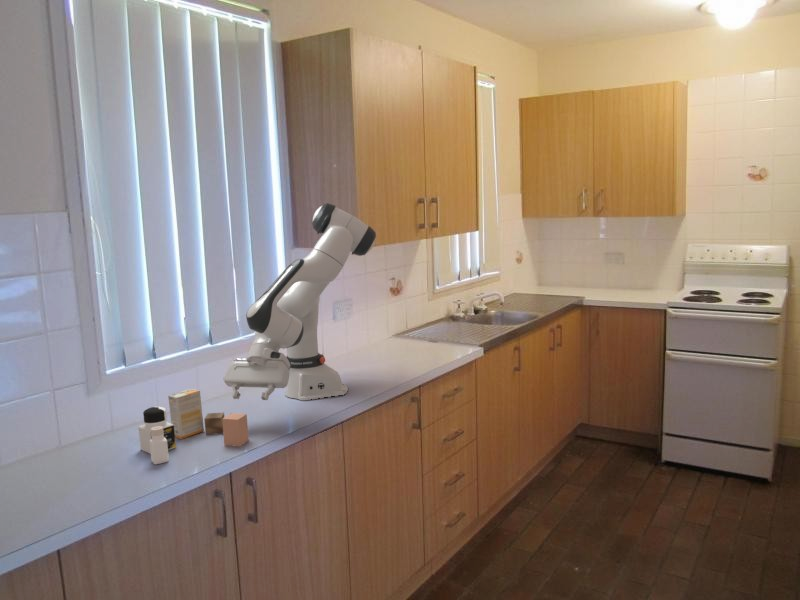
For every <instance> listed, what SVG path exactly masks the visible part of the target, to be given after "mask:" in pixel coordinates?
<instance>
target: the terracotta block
mask: <svg viewBox="0 0 800 600" xmlns="http://www.w3.org/2000/svg"><path fill="white" fill-rule="evenodd" d="M247 416H248V415H247V413H233V412H232V413H230V414H227V415H226V416H224V418H223V419H222V422H223V433H222V434H223V444H224V446H225V445H235V446H234V447H238V446H240V447H242V446H243V445H244V444H246V443H247V442H248V441H249V429H248V427H249V426H248V417H247ZM247 440H248V441H247ZM246 441H247V442H246ZM245 442H246V443H245ZM243 443H244V444H243ZM242 444H243V445H242ZM241 445H242V446H241Z"/></svg>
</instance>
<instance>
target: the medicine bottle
mask: <svg viewBox="0 0 800 600" xmlns="http://www.w3.org/2000/svg"><path fill="white" fill-rule="evenodd" d="M142 414H143V424H142V425H139V426H138V436H139V444H140V445H139V446H140V450H141V451H144V452H145V453H148V454H149V455H151V453H150V443H149V441H150V440H151V439H152V436H151V428H153V427H156V426H162V427H163V432H164V437H165V438H166V440H167V446H168V451H169V450H172V449H175V448H176V446H177V445H176V437H175V433H174V424H171V422H168V417H167V409H166V408H165V407H162V406H151V407H148V408H147V409H145V410H143V413H142Z"/></svg>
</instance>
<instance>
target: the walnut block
mask: <svg viewBox="0 0 800 600" xmlns="http://www.w3.org/2000/svg"><path fill="white" fill-rule="evenodd" d="M224 417H225V412H223V411H222V412H212V413H210V412H209V413H207V414H206V415H205V417H204V419H203V421H204V429H205V430H204V431H205V435H214V433H218V434H223V422H222V419H223V418H224Z"/></svg>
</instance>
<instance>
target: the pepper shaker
mask: <svg viewBox="0 0 800 600" xmlns="http://www.w3.org/2000/svg"><path fill="white" fill-rule="evenodd" d="M151 436H152V439H151V440H150V441H149V443H150V453H151V454H150V453H149V454H150V460H151V462H152V463H153V465H159V464H164V463H168V462H169V460H170V457H169V456H170V455H169V450H168V446H167V440H166V438H165V437H164V432H163V427H162V426H156V427H153V428H151Z"/></svg>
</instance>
